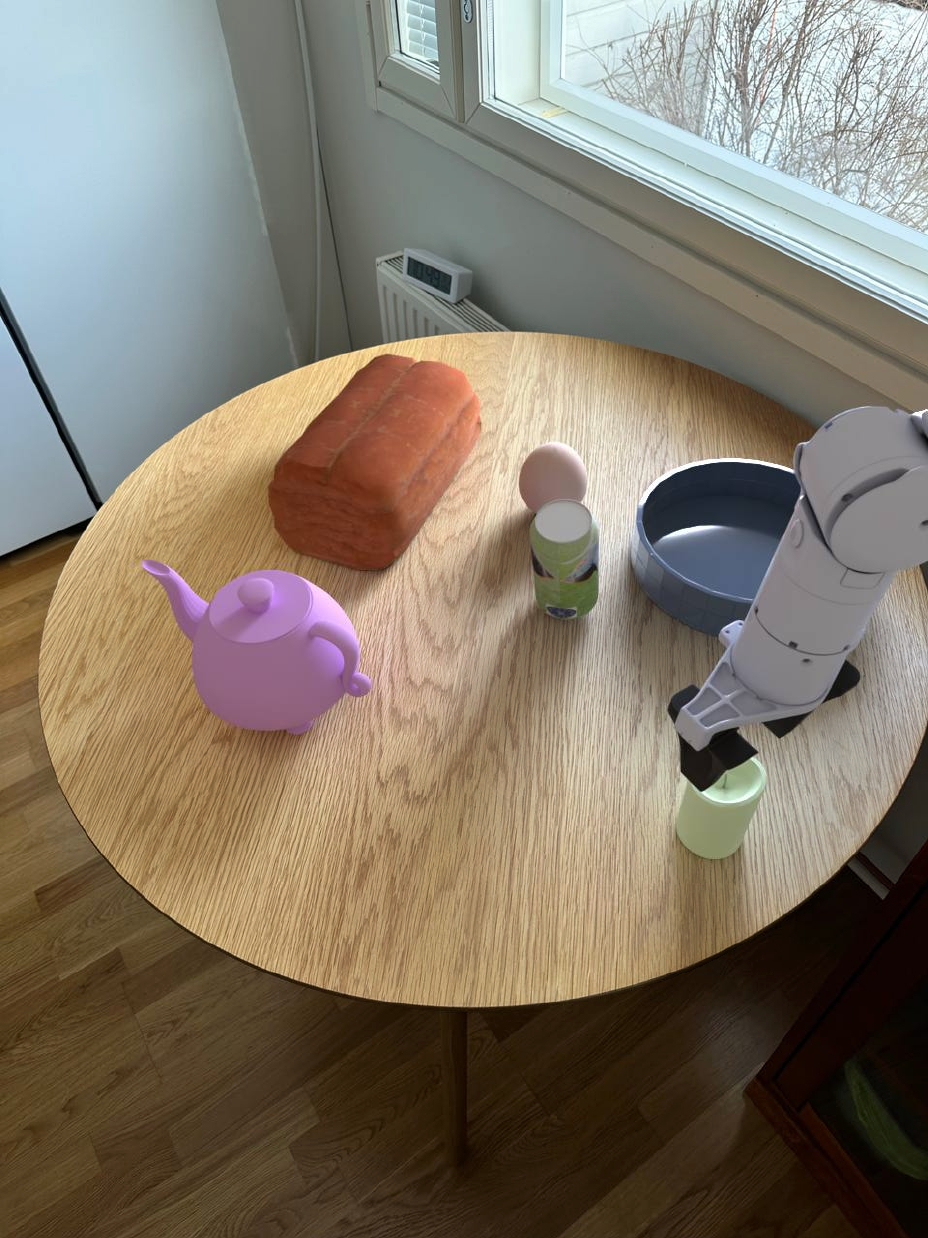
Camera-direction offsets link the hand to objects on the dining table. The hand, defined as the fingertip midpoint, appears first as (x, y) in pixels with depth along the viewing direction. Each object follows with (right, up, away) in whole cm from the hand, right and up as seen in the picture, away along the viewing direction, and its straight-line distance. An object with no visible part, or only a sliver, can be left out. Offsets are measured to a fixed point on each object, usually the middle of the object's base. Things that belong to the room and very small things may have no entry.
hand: (733, 752), depth 55 cm
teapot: (-35, +3, +19) cm, 40 cm away
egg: (-9, +21, +34) cm, 41 cm away
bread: (-27, +24, +38) cm, 52 cm away
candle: (0, -7, +8) cm, 10 cm away
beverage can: (-9, +10, +24) cm, 27 cm away
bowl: (+9, +15, +27) cm, 32 cm away
